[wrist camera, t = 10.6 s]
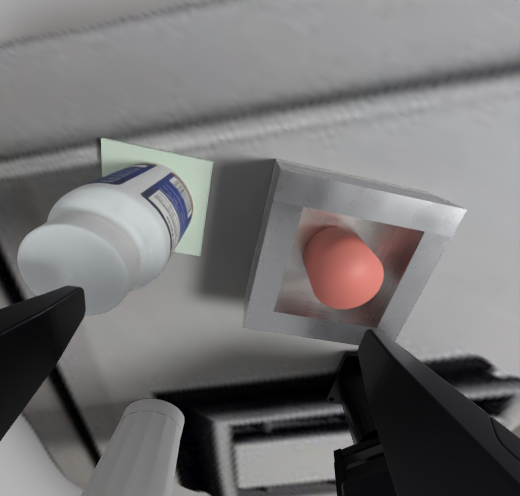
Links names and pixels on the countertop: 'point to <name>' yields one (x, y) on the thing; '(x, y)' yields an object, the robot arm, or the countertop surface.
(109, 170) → the pad
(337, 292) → the plunger
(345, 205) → the frame
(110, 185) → the pill bottle
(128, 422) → the cup
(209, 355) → the countertop surface
